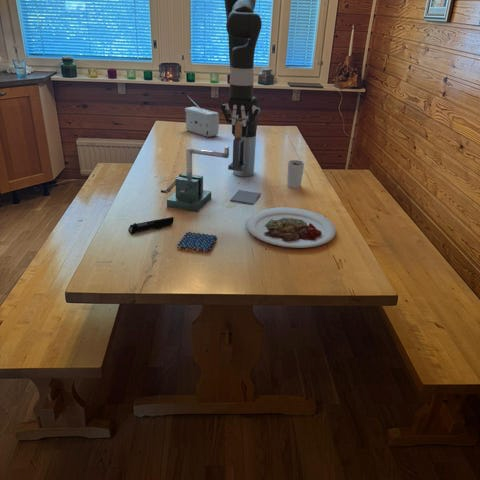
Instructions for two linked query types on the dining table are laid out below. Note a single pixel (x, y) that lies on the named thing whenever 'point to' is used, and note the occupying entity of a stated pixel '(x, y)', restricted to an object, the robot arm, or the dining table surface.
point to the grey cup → (295, 173)
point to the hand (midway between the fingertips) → (239, 136)
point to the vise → (192, 185)
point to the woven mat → (197, 242)
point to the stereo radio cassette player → (202, 121)
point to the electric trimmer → (150, 225)
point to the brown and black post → (238, 150)
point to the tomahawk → (170, 186)
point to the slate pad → (245, 197)
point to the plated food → (290, 227)
